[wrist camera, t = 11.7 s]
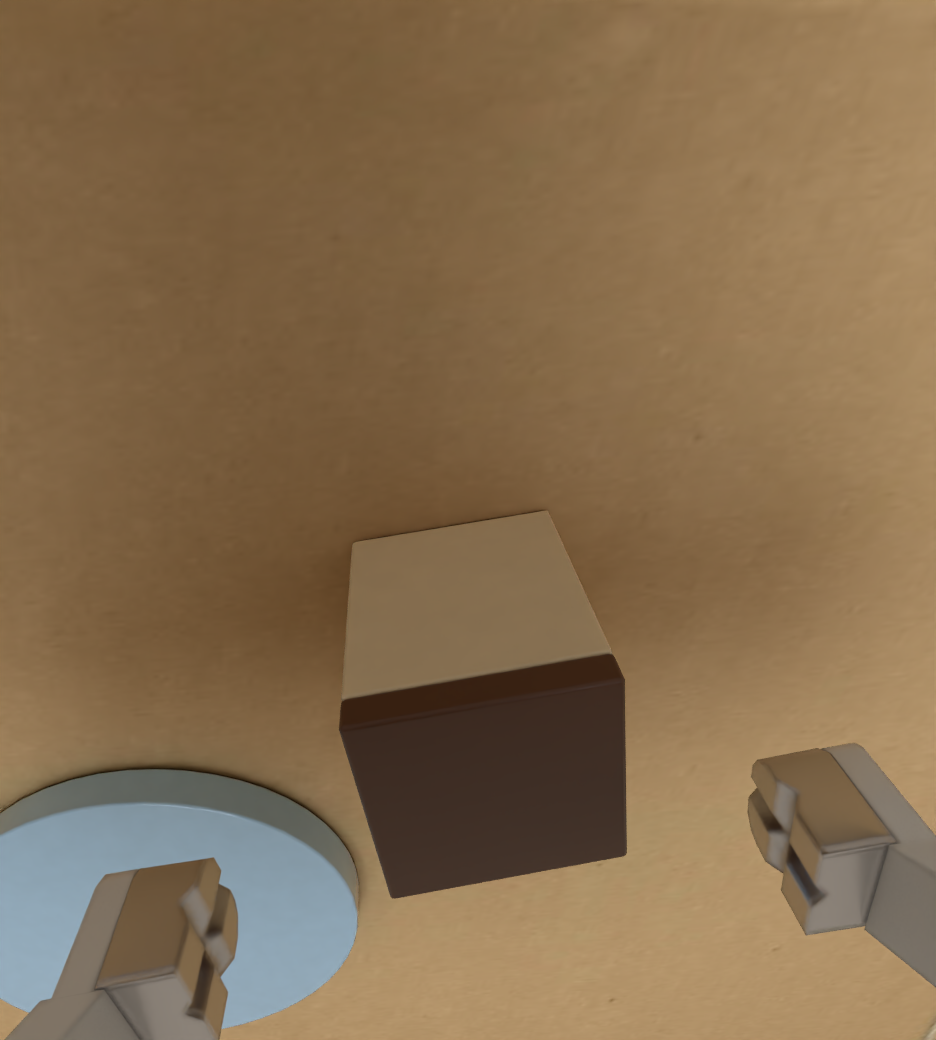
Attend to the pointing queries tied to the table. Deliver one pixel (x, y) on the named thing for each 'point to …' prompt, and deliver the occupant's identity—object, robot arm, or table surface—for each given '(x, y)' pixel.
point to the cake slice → (481, 706)
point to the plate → (166, 840)
